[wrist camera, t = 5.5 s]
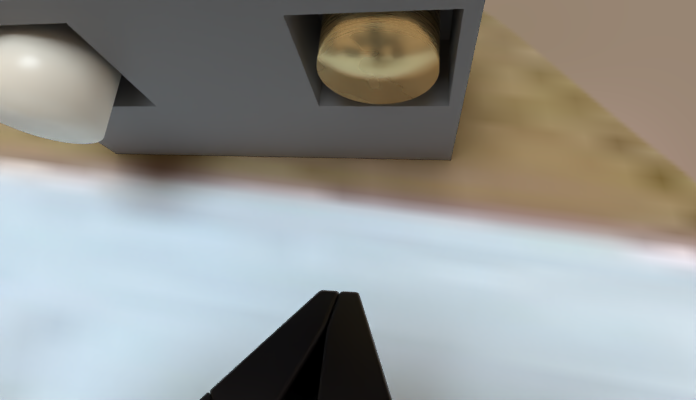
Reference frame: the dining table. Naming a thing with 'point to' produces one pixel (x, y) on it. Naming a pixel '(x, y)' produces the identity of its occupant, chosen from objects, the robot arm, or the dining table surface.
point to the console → (256, 77)
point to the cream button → (55, 83)
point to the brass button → (379, 54)
